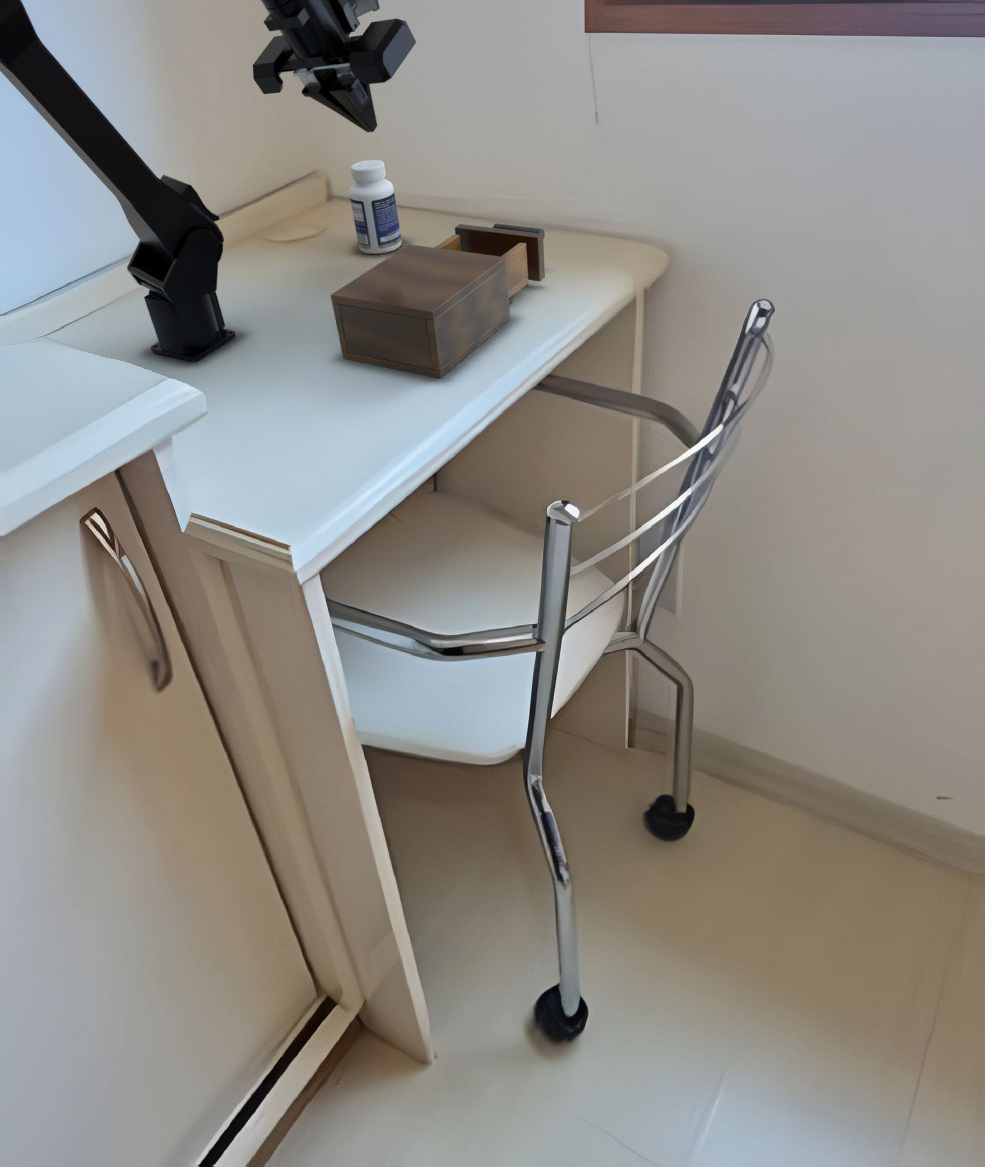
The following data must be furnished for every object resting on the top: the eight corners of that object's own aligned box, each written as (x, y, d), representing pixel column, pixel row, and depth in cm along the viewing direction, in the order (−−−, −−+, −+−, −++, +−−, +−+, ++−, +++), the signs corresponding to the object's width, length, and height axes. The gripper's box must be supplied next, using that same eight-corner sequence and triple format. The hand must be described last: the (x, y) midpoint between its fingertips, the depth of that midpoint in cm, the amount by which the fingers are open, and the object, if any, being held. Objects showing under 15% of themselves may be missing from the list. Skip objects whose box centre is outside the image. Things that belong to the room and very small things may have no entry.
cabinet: (417, 304, 101) (409, 244, 97) (510, 320, 96) (505, 257, 92) (342, 358, 93) (330, 294, 88) (440, 378, 88) (432, 312, 83)
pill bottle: (405, 238, 117) (394, 156, 111) (398, 254, 113) (385, 170, 107) (363, 240, 118) (350, 159, 112) (355, 256, 114) (340, 172, 108)
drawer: (484, 252, 109) (480, 210, 106) (563, 262, 105) (562, 219, 102) (403, 309, 98) (397, 265, 95) (488, 324, 94) (484, 278, 91)
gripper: (402, -83, 85) (474, 71, 97) (268, -52, 96) (348, 83, 108) (342, -2, 82) (424, 147, 94) (210, 21, 93) (299, 152, 105)
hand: (372, 129), depth 100 cm, fingers closed
